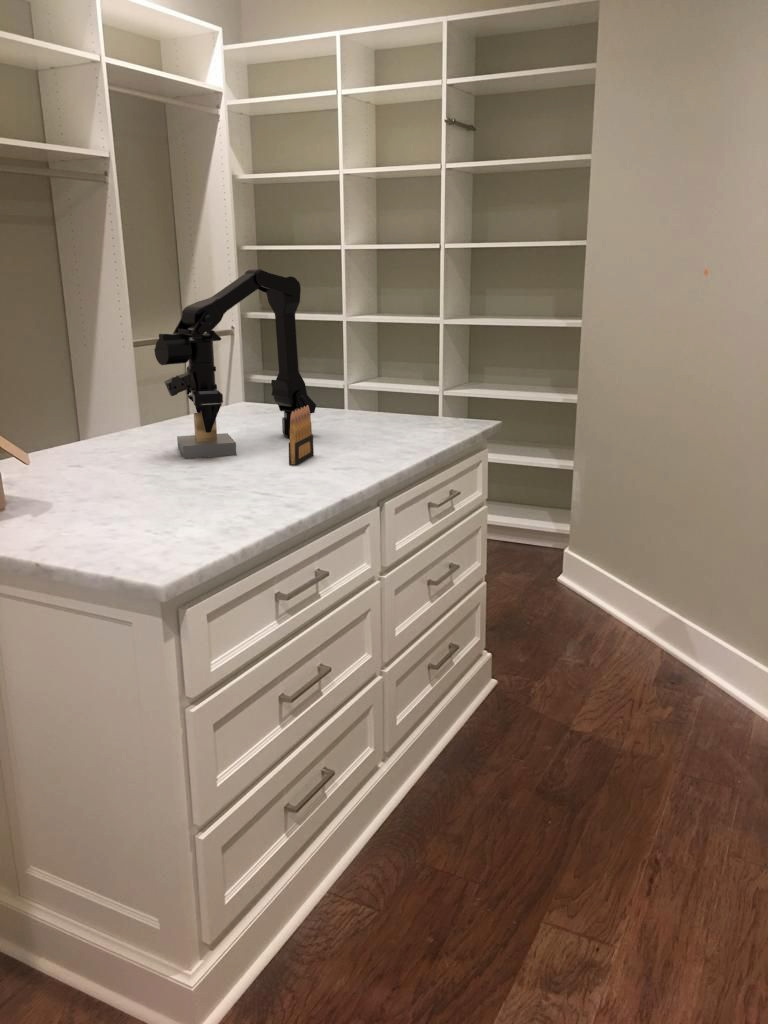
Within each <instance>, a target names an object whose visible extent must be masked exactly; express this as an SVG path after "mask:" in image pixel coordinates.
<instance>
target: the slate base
mask: <svg viewBox="0 0 768 1024" xmlns="http://www.w3.org/2000/svg"><path fill="white" fill-rule="evenodd" d="M176 439H177V440H176V441H177V449H178V451H179V453H180V454H181V455H180V456H181V457H182V458H183V460H189V459H190V460H192V459H202V458H218V457H219V458H220V457H230V456H231V457H233V455H234V456H237V442H236V441H235V439H233V438H232V436H230V434H229V433H228V432H227V433H226V432H225V433H222V432H221V433H217V441H202V442H197V440H196V439H195V434H194V435H193V434H192V435H178V436H176Z"/></svg>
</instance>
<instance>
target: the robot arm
mask: <svg viewBox="0 0 768 1024" xmlns="http://www.w3.org/2000/svg"><path fill="white" fill-rule="evenodd" d="M256 291H259V292H261V293H264V294H266V297H267V301H268V304H269V306H270V308H271V310H272V311H273V313H274V318H275V319H274V321H275V333H276V344H277V345H276V347H277V360H278V361H277V362H278V374H277V377H276V378H275V379H271V383H270V384H271V389H272V390H271V391H272V392H271V396H272V397H273V399H274V401H275V403H276V404H277V406H278V409H279V411H280V412H283V417H282V418H281V424H282V425H281V427H282V429H281V430H282V435H284V436H285V437H286V438H287V439H290V419H291V413H292V411H293V412H295V410H298V409H301V407H302V408H304V406H305V407H306V406H307V405H308V406H309V409H310V415H311V414H314V413H316V412H315V411H316V407H317V404H316V403H315V402H314V400H312V399H311V397H310V396H309V395H308V391H307V387H306V382H305V380H304V379H303V376H302V375H301V373H300V371H299V368H300V367H299V358H298V357H299V355H298V342H297V339H298V338H297V326H296V312H297V309H298V308H299V305H300V303H301V294H302V293H301V292H302V287H301V283H300V281H299V280H297V278H296V277H294V276H288V275H287V276H285V275H284V276H282V275H278V274H274V273H271V272H268V271H265V270H263V269H260V268H259V269H258V268H257V269H256V268H255V269H254V268H253V269H252V268H251V269H248V270H246V271H245V272H244V273H243V274H242V275H241V276H239V277H238V278H236V279H235V280H233V281H232V282H230V284H228V285H227V286H225V287H224V288H223V289H221V290H219V291H218V292H217V293H215V294H214V295H212V296H211V297H208V298H205V299H202V300H198V301H196V302H193V303H192V304H188V305H187V306H185V307H184V308H183V309H182V311H181V318H180V320H179V322H178V323H177V325H176V327H175V329H174V331H173V332H172V333H159V334H158V340H156V343H155V346H154V356H155V359H156V361H157V363H158V364H159V365H160V366H167V365H168V366H169V365H178V364H179V365H180V364H186V363H188V365H187V366H186V372H184V373H182V374H181V373H180V374H176V375H175V376H173V377H170V378H169V379H167V380H165V381H164V384H165V387H166V389H167V391H168V393H169V395H170V396H171V397H173V396H177V395H178V394H179V393H182V392H184V391H185V394H186V397H187V398H188V399H189V400H190V401H191V402H193V405H194V407H195V411H196V413H201V414H202V419H203V423H204V427H205V431H206V433H210V432H211V430H212V428H213V425H214V422H215V419H216V420H217V417H218V414H219V411H220V409H221V407H222V404H223V403H224V397H223V396H224V395H223V393H221V392H220V390H218V385H217V383H216V371H217V367H216V365H215V356H214V355H215V354H214V342H219V341H221V340H222V337H221V336H220V335H218V334H217V333H216V332H215V328H216V327H217V325H219V324H220V322H221V321H222V319H223V317H224V315H225V314H226V313H227V312H228V311H230V310H231V309H232V308H234V307H235V306H236V305H238V304H239V303H240V302H242V301H243V300H244V299H246V298H247V297H249V296H251V294H253V293H255V292H256Z"/></svg>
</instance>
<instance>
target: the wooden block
mask: <svg viewBox="0 0 768 1024" xmlns="http://www.w3.org/2000/svg"><path fill="white" fill-rule="evenodd" d="M193 424H194V435H195V439H196V440H197V442H202V441H217V434H218V431H217V418H216V419H215V422H214V425H213V428H212V430H211V432H210V433H206V431H205V427H204V423H203V419H202V414H201V413H197V412H193Z"/></svg>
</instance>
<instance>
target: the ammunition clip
mask: <svg viewBox="0 0 768 1024" xmlns="http://www.w3.org/2000/svg"><path fill="white" fill-rule="evenodd" d="M311 418H312V417H311V414H310V409H309V406H308V405H307V406H306V407H305V406H304V408H302V407H301V409H298V410H295V412H293V411H292V413H291V419H290V438H289V442H288V465H289V466H294V467H296V466H300V465H301V464H302V463H305V462H306V461H307V460H309V459H311V458H313V457H314V456H315V455H314V434H313V432H312V431H313V430H312V421H311Z"/></svg>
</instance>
